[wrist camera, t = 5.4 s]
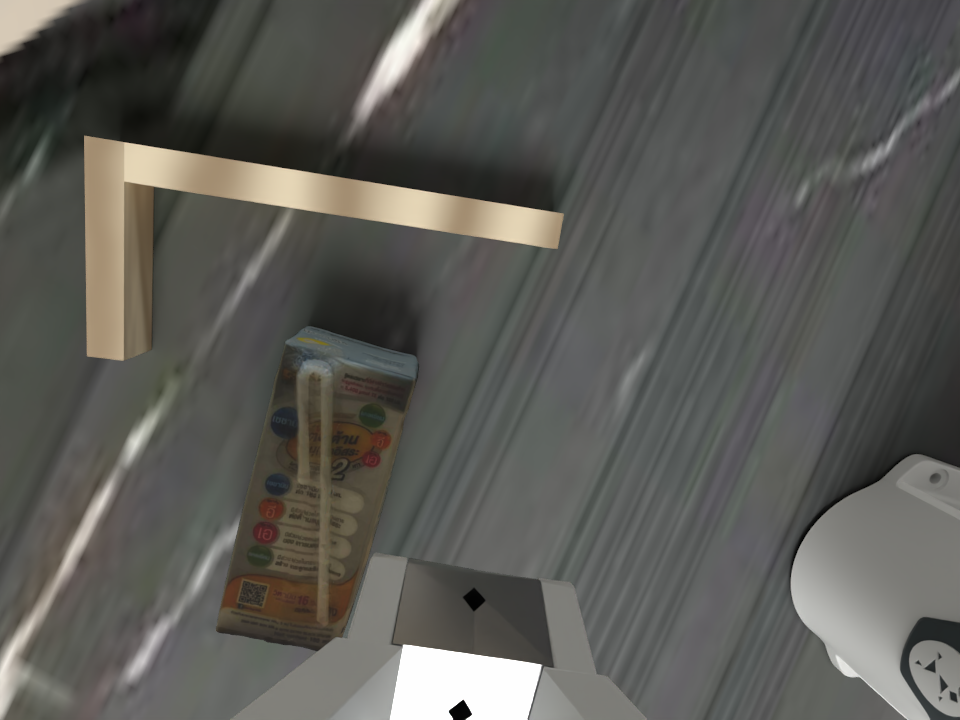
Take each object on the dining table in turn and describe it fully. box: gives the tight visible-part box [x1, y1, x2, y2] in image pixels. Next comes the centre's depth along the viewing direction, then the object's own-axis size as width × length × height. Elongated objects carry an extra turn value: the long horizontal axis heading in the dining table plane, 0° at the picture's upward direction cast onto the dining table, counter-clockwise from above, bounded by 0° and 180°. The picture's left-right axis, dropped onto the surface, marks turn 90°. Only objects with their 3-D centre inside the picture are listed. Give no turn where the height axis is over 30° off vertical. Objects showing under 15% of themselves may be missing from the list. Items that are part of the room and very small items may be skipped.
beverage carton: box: [216, 326, 419, 651], centre depth 33 cm, size 8×19×7 cm, turn 163°
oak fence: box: [84, 136, 564, 361], centre depth 32 cm, size 26×12×3 cm, turn 82°
